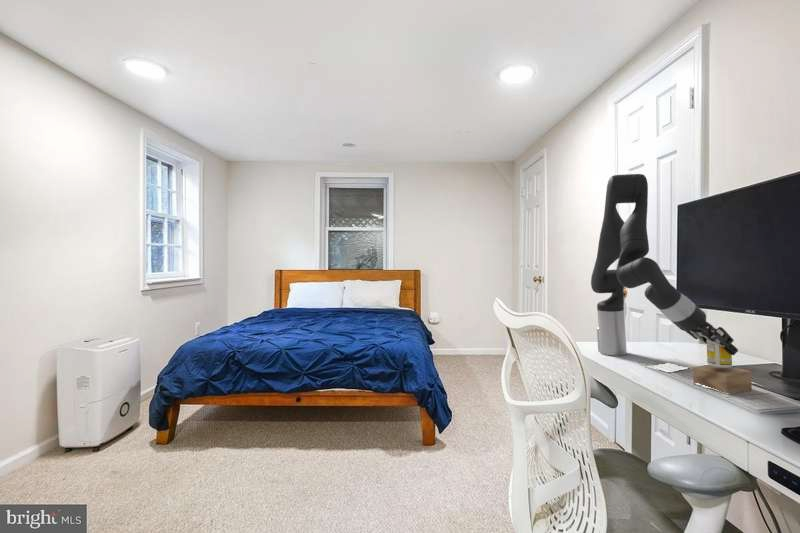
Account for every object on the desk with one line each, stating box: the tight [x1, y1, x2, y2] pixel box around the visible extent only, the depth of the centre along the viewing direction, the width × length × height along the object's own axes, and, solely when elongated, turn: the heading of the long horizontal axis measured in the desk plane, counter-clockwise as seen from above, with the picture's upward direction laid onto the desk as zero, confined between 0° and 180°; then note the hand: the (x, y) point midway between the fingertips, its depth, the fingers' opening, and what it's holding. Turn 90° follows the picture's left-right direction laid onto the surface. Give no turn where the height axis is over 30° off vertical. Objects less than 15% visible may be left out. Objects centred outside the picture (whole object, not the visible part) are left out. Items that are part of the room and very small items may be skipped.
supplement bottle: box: [706, 335, 733, 367], centre depth 105 cm, size 5×5×10 cm
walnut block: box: [692, 364, 753, 394], centre depth 105 cm, size 9×9×5 cm
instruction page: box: [645, 365, 657, 371], centre depth 124 cm, size 8×10×1 cm
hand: (725, 350), depth 105 cm, fingers closed on supplement bottle, 5 cm apart
